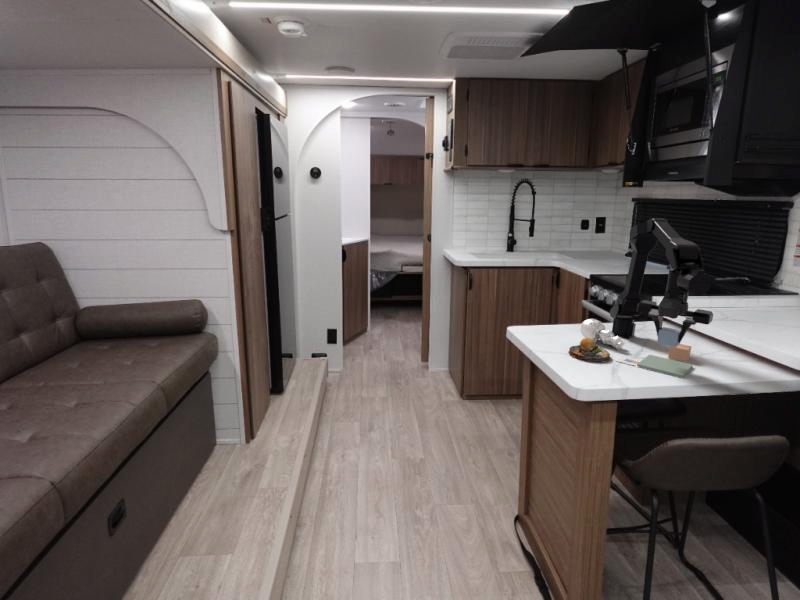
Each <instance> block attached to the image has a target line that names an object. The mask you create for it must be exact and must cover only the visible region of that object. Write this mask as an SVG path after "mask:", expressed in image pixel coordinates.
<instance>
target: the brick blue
mask: <svg viewBox="0 0 800 600" xmlns="http://www.w3.org/2000/svg"><path fill="white" fill-rule="evenodd" d="M680 332H681V329H676V328H673V327H668V326H667V327H666V326H662V328H661V329H660V330H659V333H658V336H657V340H656V344H657V345H658V344H659V345H663V346H668V347H670V346H672V347H677V346H678V345H679V344H681V342H680V343H679V342H678V340H679V335H680Z"/></svg>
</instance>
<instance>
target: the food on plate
mask: <svg viewBox="0 0 800 600" xmlns="http://www.w3.org/2000/svg"><path fill="white" fill-rule="evenodd" d="M585 336H586V335H585ZM568 354H569V356H570V357H573V358H574V359H575V360H579V361H582V362H589V363H597V364H599V363H600V364H601V363H605V362H609V360H610V356H611V354H610V352H609V351H608V350H605V349H603V348H601V346H597V345H596V343H595V341H594V340H593V339H591V338H585V337H583V338H582V340H580V343H579V344H578V345H572V346H570V347H569V351H568ZM604 361H605V362H604Z"/></svg>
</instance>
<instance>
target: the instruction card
mask: <svg viewBox="0 0 800 600" xmlns="http://www.w3.org/2000/svg"><path fill="white" fill-rule="evenodd" d="M616 361H618V363H620V362H622V363H621V364H624V363H626V364H625V365H628V364H630V365H629V366H632V365H634V366H633V367H636V366H637V364H638V363H639V362H641V361H642V360H639V359H636V358H632V357H628V356H624V357H623V356H621V357H620V358H618V359H617V360H616ZM635 365H636V366H635ZM637 368H640V367H639V366H638V367H637ZM641 369H644V368H643V367H642V368H641Z"/></svg>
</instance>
